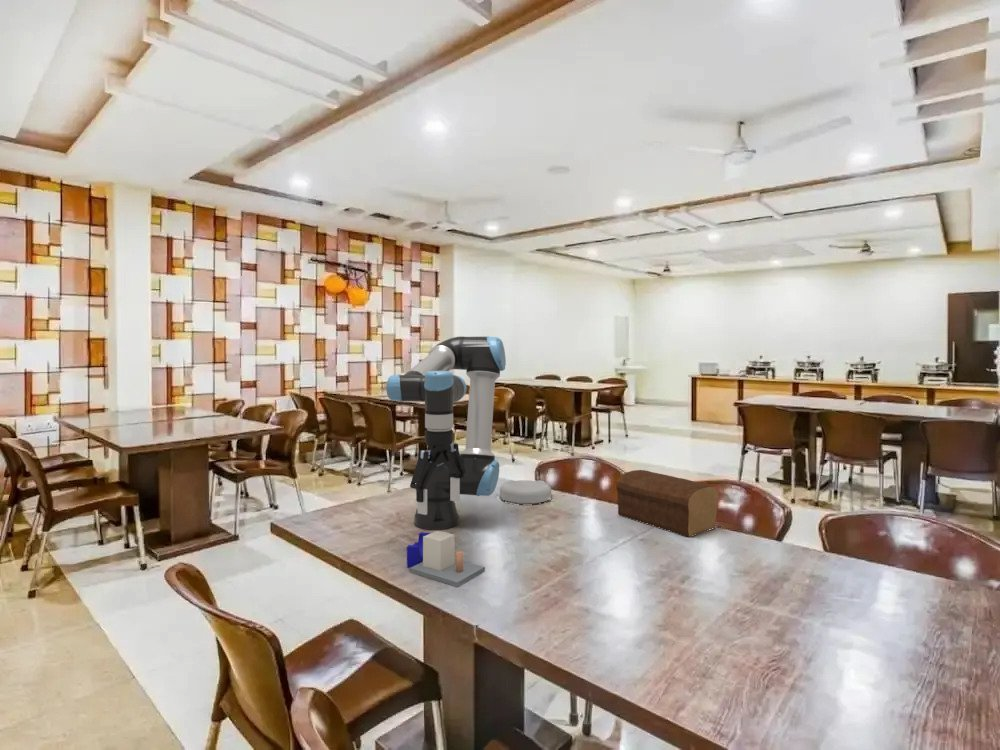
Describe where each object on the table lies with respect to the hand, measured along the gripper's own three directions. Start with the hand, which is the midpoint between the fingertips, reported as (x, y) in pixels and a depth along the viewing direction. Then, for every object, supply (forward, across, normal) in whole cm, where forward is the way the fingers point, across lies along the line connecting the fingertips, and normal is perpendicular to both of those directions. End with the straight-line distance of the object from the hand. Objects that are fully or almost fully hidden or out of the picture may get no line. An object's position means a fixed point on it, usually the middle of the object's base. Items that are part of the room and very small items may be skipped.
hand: (439, 507), depth 152 cm
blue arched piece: (+17, -1, -9) cm, 20 cm away
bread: (+18, -76, +38) cm, 87 cm away
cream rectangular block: (+16, 0, 0) cm, 16 cm away
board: (+17, 0, +3) cm, 17 cm away
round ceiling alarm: (+19, -74, -18) cm, 79 cm away
